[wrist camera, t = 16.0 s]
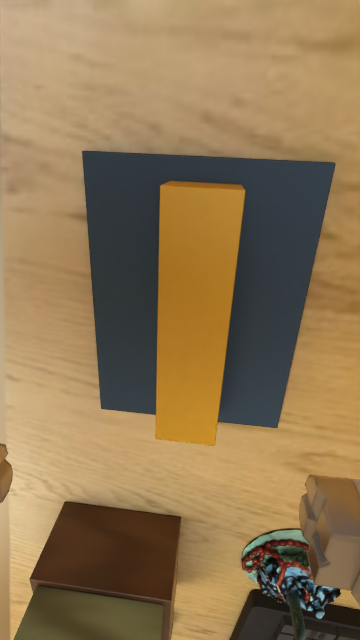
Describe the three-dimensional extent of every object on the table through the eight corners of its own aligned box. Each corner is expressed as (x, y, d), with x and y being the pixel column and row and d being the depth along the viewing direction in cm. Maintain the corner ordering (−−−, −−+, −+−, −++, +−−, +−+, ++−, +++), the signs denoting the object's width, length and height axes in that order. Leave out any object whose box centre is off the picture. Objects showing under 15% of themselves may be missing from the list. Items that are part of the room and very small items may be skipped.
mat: (103, 404, 24) (100, 409, 23) (85, 150, 17) (81, 150, 17) (276, 423, 23) (277, 428, 23) (333, 162, 16) (336, 162, 16)
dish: (273, 633, 30) (296, 667, 23) (229, 546, 33) (237, 554, 26) (345, 580, 31) (385, 597, 25) (296, 502, 35) (319, 499, 28)
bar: (163, 405, 23) (155, 439, 20) (170, 180, 17) (160, 184, 14) (215, 411, 22) (214, 446, 20) (241, 184, 16) (245, 189, 14)
